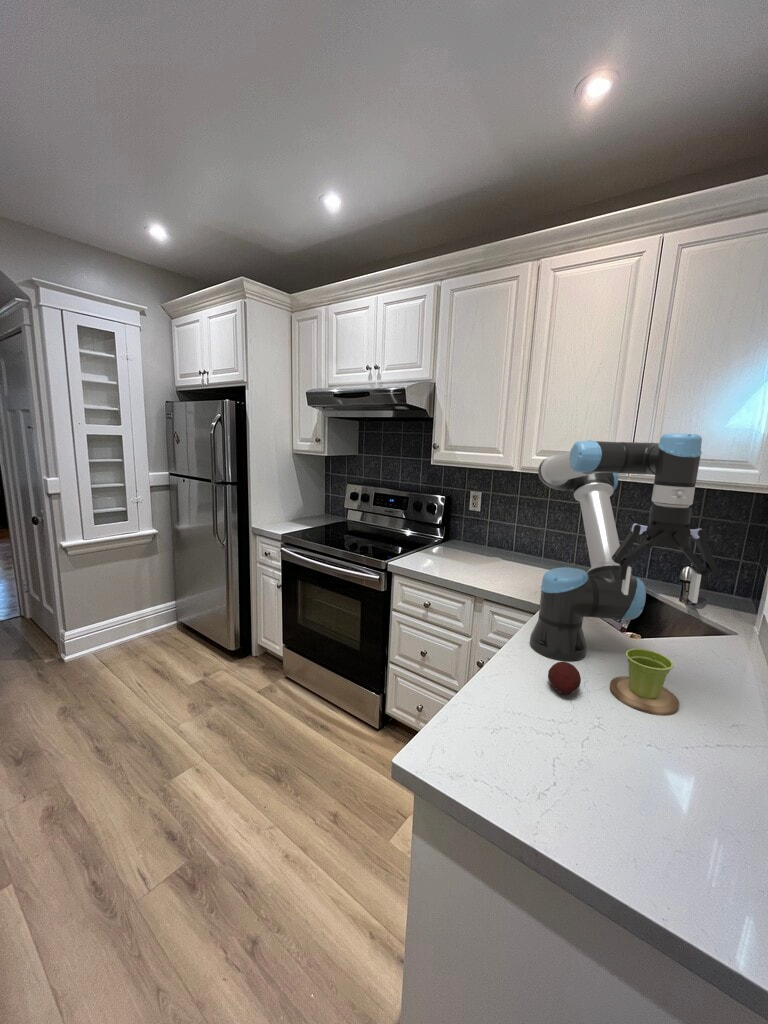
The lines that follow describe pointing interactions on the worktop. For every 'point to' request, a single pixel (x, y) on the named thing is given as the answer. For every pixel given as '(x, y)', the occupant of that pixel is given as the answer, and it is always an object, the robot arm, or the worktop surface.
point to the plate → (656, 706)
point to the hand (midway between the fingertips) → (657, 597)
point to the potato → (564, 677)
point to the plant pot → (647, 672)
